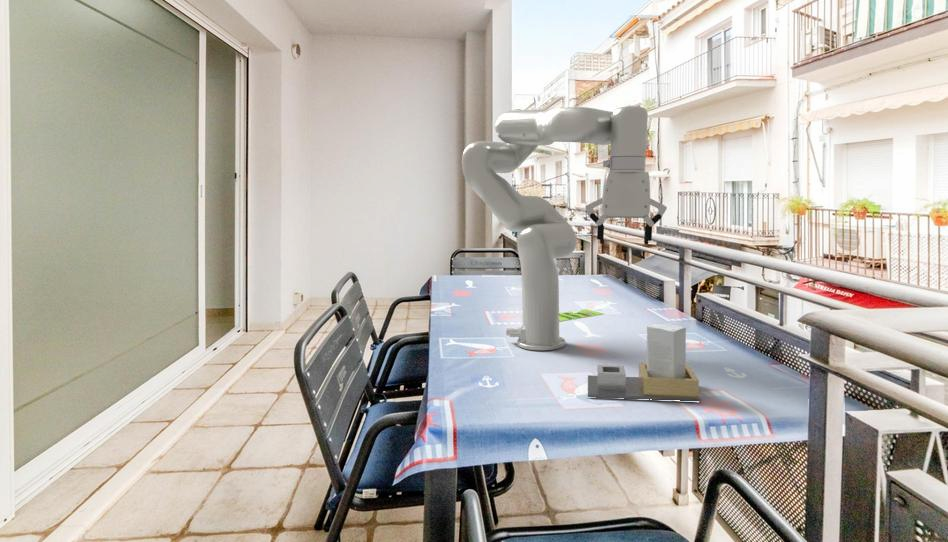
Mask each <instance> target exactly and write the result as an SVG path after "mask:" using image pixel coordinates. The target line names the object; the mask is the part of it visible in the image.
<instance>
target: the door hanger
mask: <svg viewBox="0 0 948 542" xmlns="http://www.w3.org/2000/svg"><path fill="white" fill-rule="evenodd" d="M580 310H581V311H579V312H577V313H573V312H572V311H567V312H559V323H561V322H566V321H572V319H573V320H577V319H578V318H579V319H583V318H590V317H597V316H601V315H602V314H603V315H604V312H600V311H595V310H592V309H587V308H586V309H580ZM596 315H597V316H596Z"/></svg>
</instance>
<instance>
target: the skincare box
mask: <svg viewBox="0 0 948 542" xmlns="http://www.w3.org/2000/svg"><path fill="white" fill-rule="evenodd" d="M686 335H687V329H686V327H684V326H678V325H671V324H664V323H654V324H651V325H648V326H646V363H647V373H648V376H649V377H659V378H685V365H686V351H687V350H686V345H687V344H686V341H687V339H686V337H687V336H686Z"/></svg>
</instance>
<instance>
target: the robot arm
mask: <svg viewBox="0 0 948 542" xmlns="http://www.w3.org/2000/svg"><path fill="white" fill-rule="evenodd" d="M648 114H649V113H648V110H647V109H646V108H644V107H642V106H622V107H618V108H615V110H613V111H609V110H603V109H597V108H595V107H594V108H593V107H587V106H583V107H582V106H575V107H554V108H549V109H546V108H545V109H528V110H527V109H525V110H524V109H523V110H510V111H509V110H508V111H506V112H504V113H502V114H500V116H498V118H497V119H496V121H495V127H494V129H495V133H496V136H497V137H498V138H499V139H500V141H491V140H481V141H480V140H479V141H475V142H472V143H470V144H467V146H466V147H465V149H464V150H463V151H462V152H463V153H462V157H461V168H462V173H463V177H464V179H465V182H466V183H467V185H468V186H469V187H470V189H471V190H472V191H473V192H474V193H475V194H476V195H477V196H478V197H479V198H480V199H481V200H482V201H483V203H484V204H485V205H486V206H487V208H488V209H489V210H490V211H491V213H492V214H493V215H494V216H495V217H496V218H497V220H498V221H499V222H500V224H501V225H502V226H503V227H504V228H505V229H506V230H508V231H509V232H513V233H514V232H516V233H519V232H520V233H519V234H518V237H517V240H516V249H517V253H518V259H519V264H520V265H519V266H520V273H521V274H520V275H521V297H522V298H521V305H522V306H521V308H522V309H521V310H522V313H521V314H522V326H521V327H518V328H506V330H505V331H506V333H505V334H506V336H507V337H510V338H518V339H517V340H516V344H517V346H518V347H520V348H522V349H525V350H530V351H552V350H553V351H554V350H559V349H561V348H564V347H565V345H566V339H565V338H564V337H562V336H560V322H559V313H560V288H559V287H560V286H559V285H560V284H559V283H560V282H559V281H560V280H559V279H560V278H559V272H558V270H557V267H556V264H555V262H554V260H556V259H562V258H566V257H568V256H570V255H571V254H572V253H574V251H575V250H576V248H577V243H578V242H577V241H578V240H577V235H576V234H577V233H576V232H575V230H574V229H573V227H572V226H571V224H570V223H569V222H568V221H567V220H566V219H565V217H563V215H562V214H561V213H560V212H559V211H558V210H557V209H556V208H555V207H554V206H553V204H551V203H550V202H549V201H548V200H547V199H545V198H543V197H541V196H538V195H523V194H520V193H519V192H518V191H517V190H516V189H515V188H513V186H512V185H511V184H510V182H508V181H507V180H506V179H505V178H503V177H502V176H501V175H499V174H509V173H513V172H514V171H515V170H517V169H518V168H519V167H520V166H521V165H522V164H523V163H524V162H525V161H526V160H527V159H528V157H530V155H532V153H533V152H534V151H535V150H536V149H537V148H538V147H539V146H550V145H552V144H553V143H555V142H556V143H560V142H561V143H580V144H582V143H583V144H594V145H601V146H603V145H610V149H609V151H610V152H609V153H610V154H609V159H606V160H603V161H602V168H603V167H604V168H607V169H609V171H607V172H605V175H604V178H603V179H604V180H603V187H602V197H601V198H598V199H597V200H595V201H593V202H590V203H588V204H586V205H585V210H586V212H587V214H588V216H589V218H590V219H591V220H592V221H593V222H594V223H595V224H596V225H597V230H596V232H597V235H596V239H597V240H599V244H604V236H605V235H604V233H605V232H604V231H605V225H604V222H605V221H606V220H607V219H608V218H611V219H612V218H615V219H616V218H617V219H618V218H621V219H623V218H624V219H643V221H644V222H645V226H644V235H643V236H644V238H643V243H644V245H646V246H647V245H649V242H650V241H652V235H653V226H655V224H657V223H658V222H659V221H661V219H662V217H664V214H665V212H666V211H667V209H668V208H667V206H666V205H664V204H662V203H660V202H659V201H656V200H654V199H653V198H652V197H651V179H650V172H649V171H646V156H647V155H646V153H647V140H648V139H647V138H648V122H649V121H648V120H649V119H648V117H649V115H648ZM501 141H502V142H501ZM600 205H601V214H602V215H601V216H600V217H598V215H597V214H596V213H595V212H594V209H595V208H597V207H598V206H600ZM651 206H652V207H654V208H656V209H657V210H658V211H657V212H656V214H655V215H654V216H652V217H650V213H651V212H650V211H651Z"/></svg>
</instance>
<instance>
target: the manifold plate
mask: <svg viewBox="0 0 948 542" xmlns="http://www.w3.org/2000/svg"><path fill="white" fill-rule="evenodd" d="M596 367H597V371H596V372H597V375H591V374H589V375H588V374H587V398H588V397H596V398H595V399H597V398H624V399H649V400H650V399H652V400H680V401H700V402H701V397H700V396H699V393H700V392H699V389H700V387H699V385H700V383H699V382H700V380H699V379H698V377H697V375H696V374H695V372H694V371H693V369H692V368H691V366H690V364H685V378H659V377H649V376H648V373H647V362H646V363H645V362H644V363H642V362H640V363H638V377H637V376H627V374H626V369H625V366H624V365H609V364H608V365H607V364H605V365H603V364H597V366H596Z"/></svg>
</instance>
